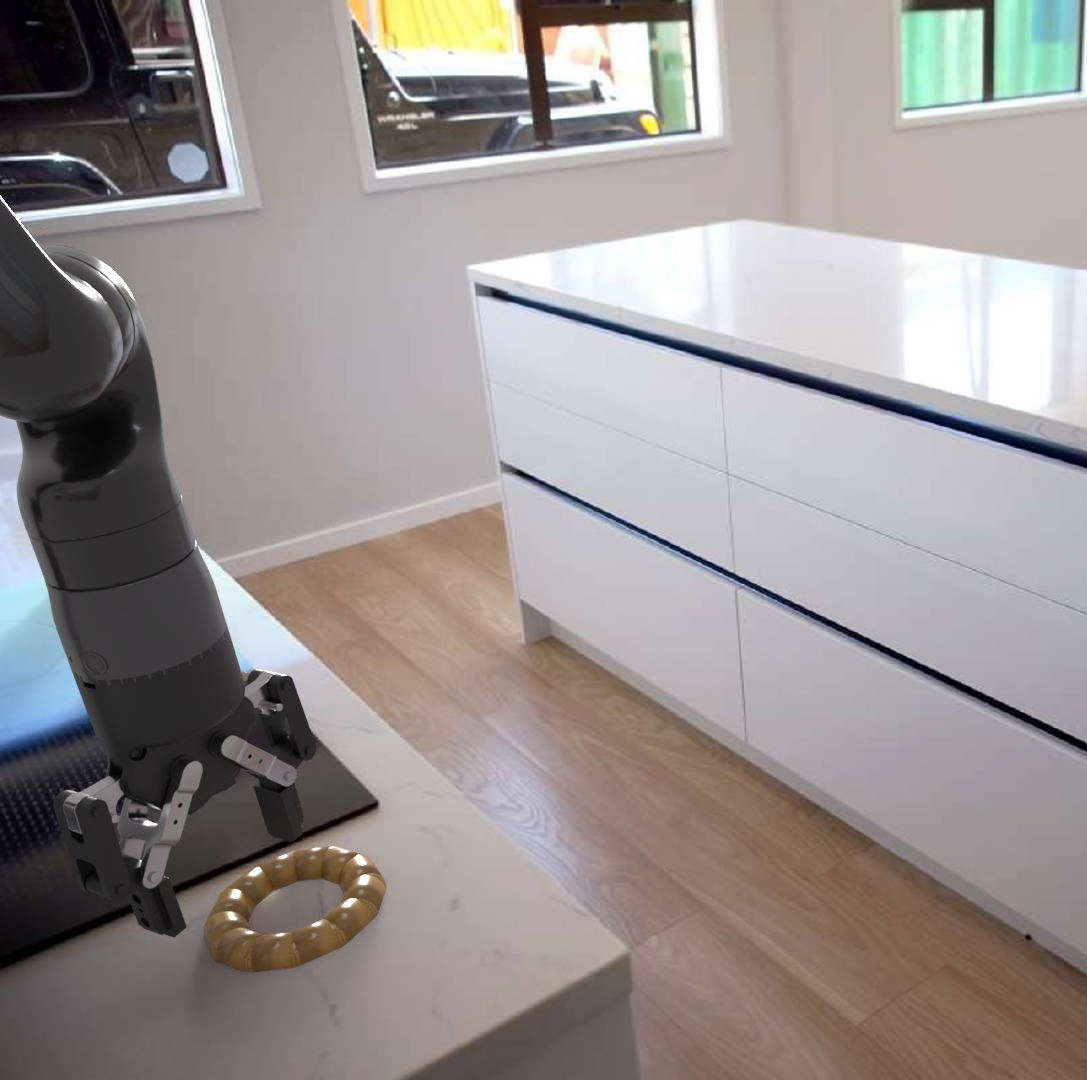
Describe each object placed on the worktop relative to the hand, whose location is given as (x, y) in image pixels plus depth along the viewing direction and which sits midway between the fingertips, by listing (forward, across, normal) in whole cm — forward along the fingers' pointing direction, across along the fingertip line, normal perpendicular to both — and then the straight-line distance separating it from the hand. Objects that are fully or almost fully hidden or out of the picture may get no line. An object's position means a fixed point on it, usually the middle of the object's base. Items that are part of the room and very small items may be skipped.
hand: (230, 881), depth 71 cm
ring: (+5, -4, 0) cm, 6 cm away
